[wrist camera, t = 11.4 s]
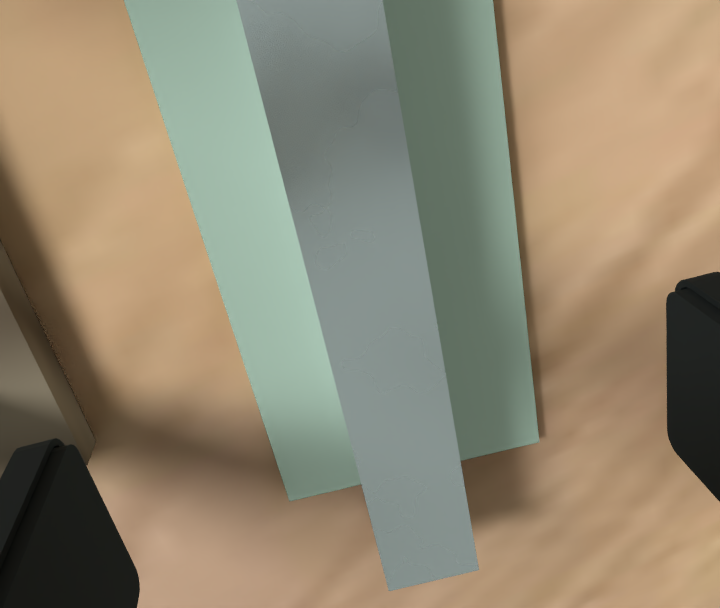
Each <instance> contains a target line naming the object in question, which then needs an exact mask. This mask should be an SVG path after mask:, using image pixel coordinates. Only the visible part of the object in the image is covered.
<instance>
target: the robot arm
mask: <svg viewBox="0 0 720 608" xmlns="http://www.w3.org/2000/svg"><path fill="white" fill-rule="evenodd" d="M666 319H667V431H668V437H669V440H670V443H671V445H672V447H673V449H674V451H675V452H676V453H677V455H678V456H679V457H680V458H681V459H682V460H683V461H684V462H685V464H686V465H687V466H688V467H689V468H690V469H691V470H692V471H693V472H694V474H695V475H696V476H697V477H698V478H699V479H700V480H701V481H702V483H703V484H704V485H705V486H706V487H707V488H708V489H709V490H710V491H711V493H712V494H713V495H714V496H715V497H716V498H717V499H718V500H719V501H720V273H719V272H713V273H709V274H705V275H701V276H697V277H693V278H689V279H685V280H681V281H680V282H679V283H678V284H677V286H676V288H675V292H671V293H670V294H669V295H668V297H667V303H666ZM139 591H140V587H139V577H138V573H137V570H136V568H135V566H134V564H133V562H132V559H131V557H130V555H129V553H128V551H127V549H126V547H125V545H124V543H123V541H122V539H121V537H120V535H119V533H118V531H117V529H116V526H115V524H114V522H113V520H112V518H111V516H110V514H109V512H108V510H107V508H106V506H105V504H104V502H103V500H102V498H101V496H100V493H99V491H98V489H97V487H96V485H95V483H94V481H93V479H92V477H91V475H90V473H89V471H88V469H87V467H86V465H85V463H84V460H83V458H82V456H81V454H80V452H79V451H78V449H77V447H76V446H74V445H72V444H69V445H64V443H63V442H62V441H61V440H60V439H57V438H54V439H50V440H46V441H42V442H38V443H34V444H31V445H27V446H23V447H19V448H17V449H16V450H15V451H14V453H13V454H12V456H11V458H10V460H9V462H8V464H7V466H6V468H5V470H4V472H3V474H2V476H1V478H0V608H137V604H138V598H139Z"/></svg>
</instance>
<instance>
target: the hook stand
mask: <svg viewBox="0 0 720 608" xmlns="http://www.w3.org/2000/svg"><path fill="white" fill-rule="evenodd" d="M54 438H57V439H60V440H61V441H62V442H63V443H64V445H69V444H72V445H74V446H76V447H77V449H78V451H79V452H80V454H81V456H82V458H83V460H84V463H85V465H87V464H88V461H89V459H90V456H91V453H92V451H93V448H94V445H95V443H96V441H95V438H94V436H93V434H92V432H91V430H90V428H89V426H88V424H87V422H86V420H85V417H84V415H83V413H82V411H81V409H80V407H79V405H78V403H77V401H76V399H75V396H74V394H73V392H72V390H71V388H70V386H69V384H68V382H67V380H66V378H65V375H64V373H63V371H62V369H61V367H60V365H59V363H58V361H57V359H56V357H55V354H54V352H53V350H52V348H51V346H50V344H49V342H48V340H47V338H46V336H45V333H44V331H43V329H42V327H41V325H40V323H39V321H38V319H37V317H36V315H35V312H34V310H33V308H32V306H31V304H30V302H29V300H28V298H27V296H26V294H25V291H24V289H23V287H22V285H21V283H20V281H19V279H18V277H17V275H16V273H15V270H14V268H13V266H12V264H11V262H10V260H9V258H8V256H7V254H6V252H5V249H4V247H3V245H2V243H1V241H0V478H1V476H2V474H3V472H4V470H5V468H6V466H7V464H8V462H9V460H10V458H11V456H12V454H13V453H14V451H15V450H16V449H17V448H19V447H23V446H27V445H31V444H34V443H38V442H42V441H46V440H50V439H54Z"/></svg>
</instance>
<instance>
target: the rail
mask: <svg viewBox="0 0 720 608" xmlns="http://www.w3.org/2000/svg"><path fill="white" fill-rule="evenodd" d="M236 1H237V5H238V9H239V13H240V17H241V21H242V25H243V28H244V32H245V36H246V40H247V44H248V48H249V52H250V55H251V59H252V63H253V67H254V71H255V75H256V79H257V83H258V86H259V90H260V94H261V98H262V102H263V106H264V110H265V113H266V117H267V121H268V125H269V129H270V133H271V137H272V141H273V144H274V148H275V152H276V156H277V160H278V164H279V168H280V172H281V175H282V179H283V183H284V187H285V191H286V195H287V199H288V202H289V206H290V210H291V214H292V218H293V222H294V226H295V230H296V233H297V237H298V241H299V245H300V249H301V253H302V257H303V261H304V264H305V268H306V272H307V276H308V280H309V284H310V288H311V291H312V295H313V299H314V303H315V307H316V311H317V315H318V319H319V322H320V326H321V330H322V334H323V338H324V342H325V346H326V349H327V353H328V357H329V361H330V365H331V369H332V373H333V377H334V380H335V384H336V388H337V392H338V396H339V400H340V404H341V408H342V411H343V415H344V419H345V423H346V427H347V431H348V435H349V438H350V442H351V446H352V450H353V454H354V458H355V462H356V466H357V469H358V473H359V477H360V481H361V485H362V489H363V493H364V496H365V500H366V504H367V508H368V512H369V516H370V520H371V524H372V527H373V531H374V535H375V539H376V543H377V547H378V551H379V555H380V558H381V562H382V566H383V570H384V574H385V578H386V582H387V585H388V589H389V591H392V590H396V589H401V588H405V587H409V586H413V585H418V584H422V583H426V582H430V581H434V580H439V579H443V578H447V577H451V576H456V575H460V574H464V573H468V572H472V571H477V570H479V568H478V562H477V556H476V550H475V544H474V538H473V532H472V526H471V520H470V515H469V509H468V503H467V497H466V491H465V485H464V479H463V473H462V467H461V461H460V455H459V449H458V444H457V438H456V432H455V426H454V420H453V414H452V408H451V402H450V396H449V390H448V384H447V379H446V373H445V367H444V361H443V355H442V349H441V343H440V337H439V331H438V325H437V319H436V313H435V308H434V302H433V296H432V290H431V284H430V278H429V272H428V266H427V260H426V254H425V248H424V242H423V237H422V231H421V225H420V219H419V213H418V207H417V201H416V195H415V189H414V183H413V177H412V172H411V166H410V160H409V154H408V148H407V142H406V136H405V130H404V124H403V118H402V112H401V106H400V101H399V95H398V89H397V83H396V77H395V71H394V65H393V59H392V53H391V47H390V41H389V36H388V30H387V24H386V18H385V12H384V6H383V0H236Z"/></svg>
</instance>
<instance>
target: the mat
mask: <svg viewBox="0 0 720 608" xmlns="http://www.w3.org/2000/svg"><path fill="white" fill-rule="evenodd" d="M124 2H125V5H126V8H127V11H128V14H129V17H130V20H131V24H132V27H133V30H134V33H135V36H136V39H137V42H138V45H139V48H140V51H141V54H142V57H143V60H144V63H145V66H146V69H147V72H148V75H149V78H150V81H151V84H152V87H153V90H154V93H155V96H156V99H157V102H158V105H159V108H160V111H161V114H162V117H163V120H164V123H165V126H166V129H167V132H168V135H169V138H170V141H171V144H172V147H173V151H174V154H175V157H176V160H177V163H178V166H179V169H180V172H181V175H182V178H183V181H184V184H185V187H186V190H187V193H188V196H189V199H190V202H191V205H192V208H193V211H194V214H195V217H196V220H197V223H198V226H199V229H200V232H201V235H202V238H203V241H204V244H205V247H206V250H207V253H208V256H209V259H210V262H211V265H212V268H213V271H214V274H215V278H216V281H217V284H218V287H219V290H220V293H221V296H222V299H223V302H224V305H225V308H226V311H227V314H228V317H229V320H230V323H231V326H232V329H233V332H234V335H235V338H236V341H237V344H238V347H239V350H240V353H241V356H242V359H243V362H244V365H245V368H246V371H247V374H248V377H249V380H250V383H251V386H252V389H253V392H254V395H255V398H256V401H257V405H258V408H259V411H260V414H261V417H262V420H263V423H264V426H265V429H266V432H267V435H268V438H269V441H270V444H271V447H272V450H273V453H274V456H275V459H276V462H277V465H278V468H279V471H280V474H281V477H282V480H283V483H284V486H285V489H286V492H287V495H288V498H289V501H293V500H298V499H302V498H306V497H310V496H315V495H319V494H323V493H327V492H331V491H336V490H340V489H344V488H348V487H352V486H357V485H361V481H360V477H359V473H358V469H357V466H356V462H355V458H354V454H353V450H352V446H351V442H350V438H349V435H348V431H347V427H346V423H345V419H344V415H343V411H342V408H341V404H340V400H339V396H338V392H337V388H336V384H335V380H334V377H333V373H332V369H331V365H330V361H329V357H328V353H327V349H326V346H325V342H324V338H323V334H322V330H321V326H320V322H319V319H318V315H317V311H316V307H315V303H314V299H313V295H312V291H311V288H310V284H309V280H308V276H307V272H306V268H305V264H304V261H303V257H302V253H301V249H300V245H299V241H298V237H297V233H296V230H295V226H294V222H293V218H292V214H291V210H290V206H289V202H288V199H287V195H286V191H285V187H284V183H283V179H282V175H281V172H280V168H279V164H278V160H277V156H276V152H275V148H274V144H273V141H272V137H271V133H270V129H269V125H268V121H267V117H266V113H265V110H264V106H263V102H262V98H261V94H260V90H259V86H258V83H257V79H256V75H255V71H254V67H253V63H252V59H251V55H250V52H249V48H248V44H247V40H246V36H245V32H244V28H243V25H242V21H241V17H240V13H239V9H238V5H237V1H236V0H124ZM383 6H384V12H385V18H386V24H387V30H388V36H389V41H390V47H391V53H392V59H393V65H394V71H395V77H396V83H397V89H398V95H399V101H400V106H401V112H402V118H403V124H404V130H405V136H406V142H407V148H408V154H409V160H410V166H411V172H412V177H413V183H414V189H415V195H416V201H417V207H418V213H419V219H420V225H421V231H422V237H423V242H424V248H425V254H426V260H427V266H428V272H429V278H430V284H431V290H432V296H433V302H434V308H435V313H436V319H437V325H438V331H439V337H440V343H441V349H442V355H443V361H444V367H445V373H446V379H447V384H448V390H449V396H450V402H451V408H452V414H453V420H454V426H455V432H456V438H457V444H458V449H459V455H460V461H462V460H466V459H470V458H475V457H479V456H483V455H487V454H491V453H496V452H500V451H504V450H508V449H513V448H517V447H521V446H525V445H529V444H534V443H538V442H539V434H538V424H537V415H536V405H535V396H534V386H533V377H532V367H531V358H530V348H529V339H528V329H527V320H526V310H525V301H524V291H523V282H522V272H521V263H520V253H519V244H518V234H517V224H516V215H515V205H514V196H513V186H512V177H511V167H510V158H509V148H508V139H507V129H506V120H505V110H504V101H503V91H502V82H501V72H500V63H499V53H498V43H497V34H496V24H495V15H494V5H493V0H383Z"/></svg>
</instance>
